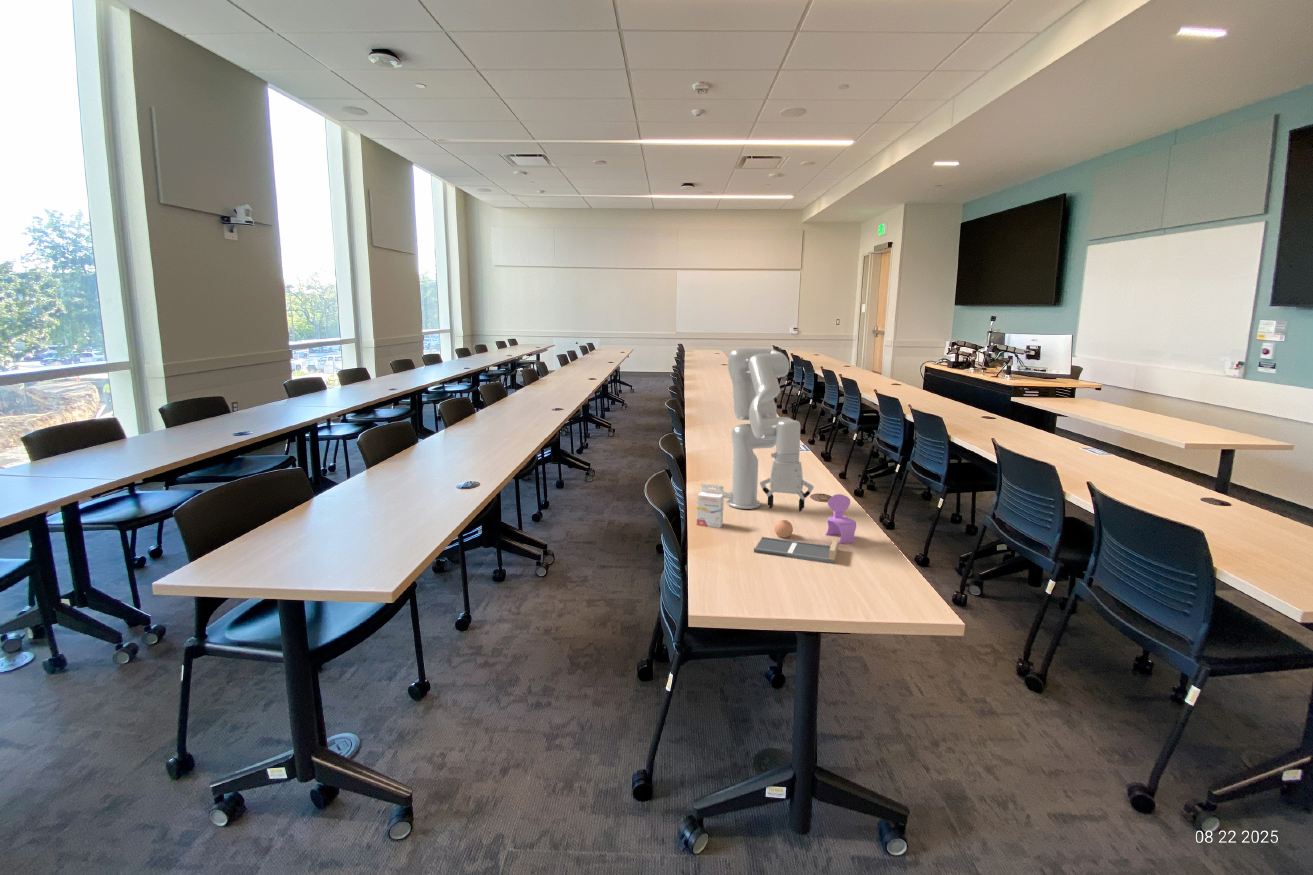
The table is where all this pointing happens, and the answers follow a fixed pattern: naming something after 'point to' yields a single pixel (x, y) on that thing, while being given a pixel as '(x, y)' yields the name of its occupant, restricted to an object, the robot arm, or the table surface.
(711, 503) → the ink cartridge box
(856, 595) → the table surface
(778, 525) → the ball
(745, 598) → the table surface
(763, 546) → the lane
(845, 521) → the toy chair
